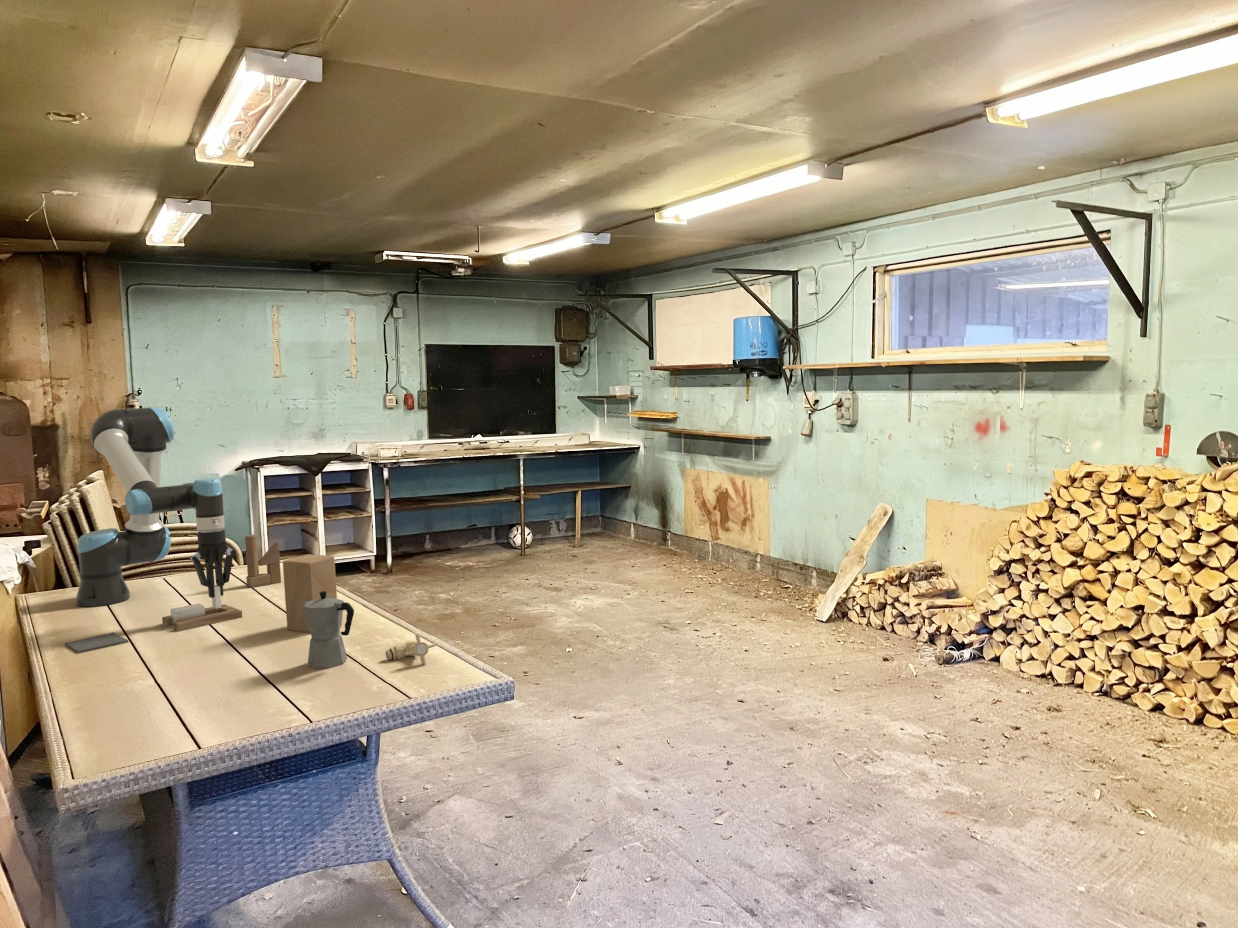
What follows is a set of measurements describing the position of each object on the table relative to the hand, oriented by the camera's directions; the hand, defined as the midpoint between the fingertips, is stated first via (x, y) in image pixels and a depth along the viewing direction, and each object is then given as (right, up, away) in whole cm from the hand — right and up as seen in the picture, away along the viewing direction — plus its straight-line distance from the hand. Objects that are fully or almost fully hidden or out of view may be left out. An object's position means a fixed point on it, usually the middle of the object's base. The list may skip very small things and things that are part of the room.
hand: (217, 607), depth 254 cm
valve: (+70, -6, -45) cm, 83 cm away
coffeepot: (+50, -6, -46) cm, 69 cm away
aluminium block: (-6, -4, -6) cm, 9 cm away
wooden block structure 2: (-4, +1, +42) cm, 43 cm away
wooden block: (+34, -4, -14) cm, 37 cm away
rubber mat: (-22, -6, -23) cm, 33 cm away
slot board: (-3, -3, -3) cm, 5 cm away
